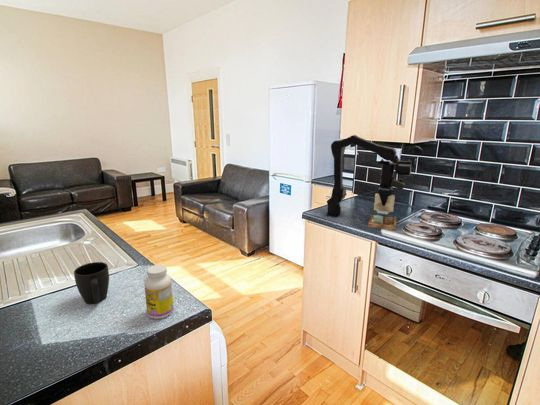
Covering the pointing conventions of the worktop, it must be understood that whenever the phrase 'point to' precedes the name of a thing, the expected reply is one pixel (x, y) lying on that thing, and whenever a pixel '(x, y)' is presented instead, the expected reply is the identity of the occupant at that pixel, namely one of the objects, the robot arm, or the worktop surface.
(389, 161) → the robot arm
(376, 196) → the birch board
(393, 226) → the rack
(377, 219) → the teal offcut
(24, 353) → the worktop surface
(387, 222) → the small walnut offcut
